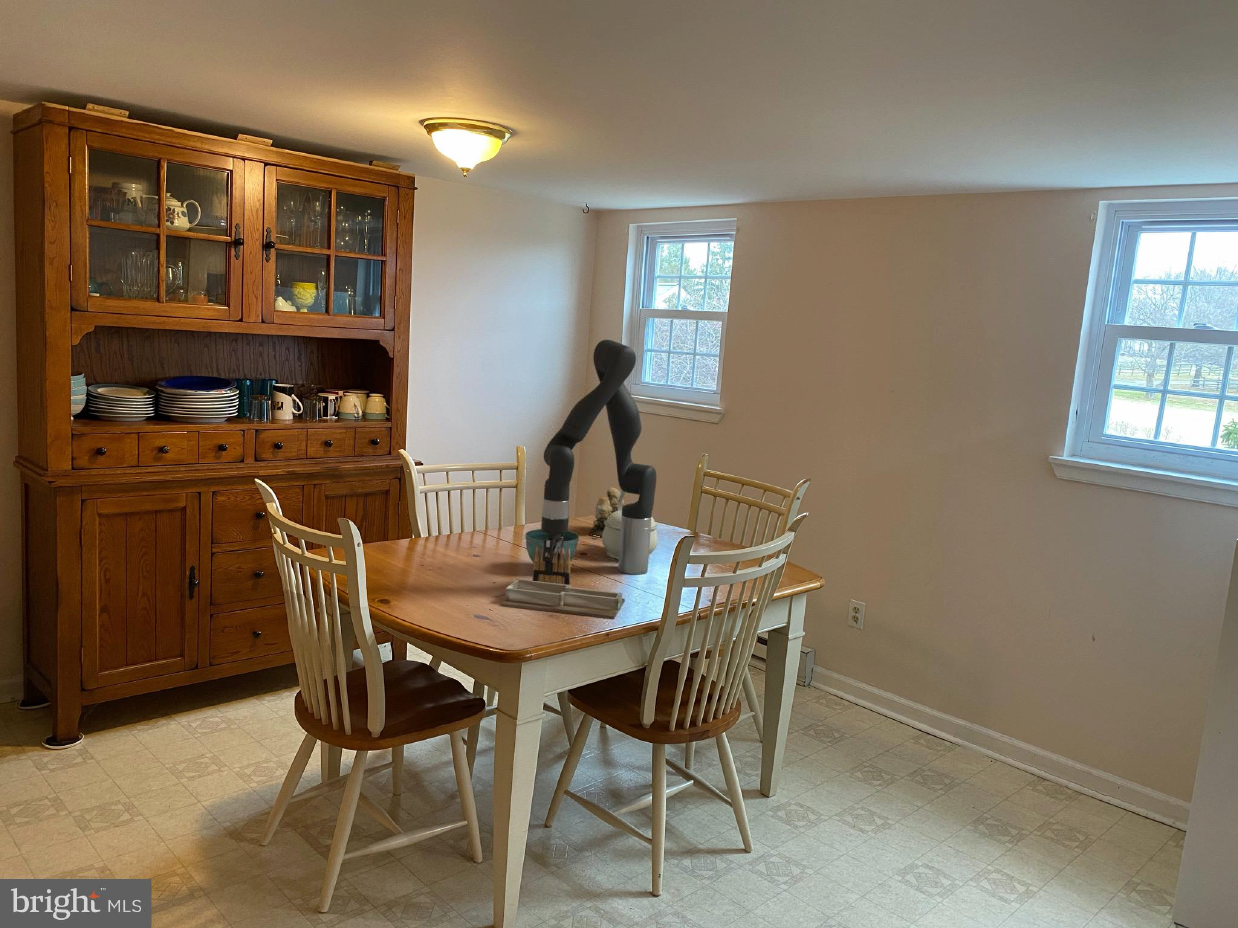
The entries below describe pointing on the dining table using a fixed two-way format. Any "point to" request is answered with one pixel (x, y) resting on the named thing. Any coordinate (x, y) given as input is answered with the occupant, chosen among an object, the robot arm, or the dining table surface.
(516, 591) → the shallow open tray
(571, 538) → the flower pot
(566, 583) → the ammunition clip
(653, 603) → the dining table surface
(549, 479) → the robot arm
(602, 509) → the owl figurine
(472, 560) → the dining table surface
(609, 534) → the kettle
